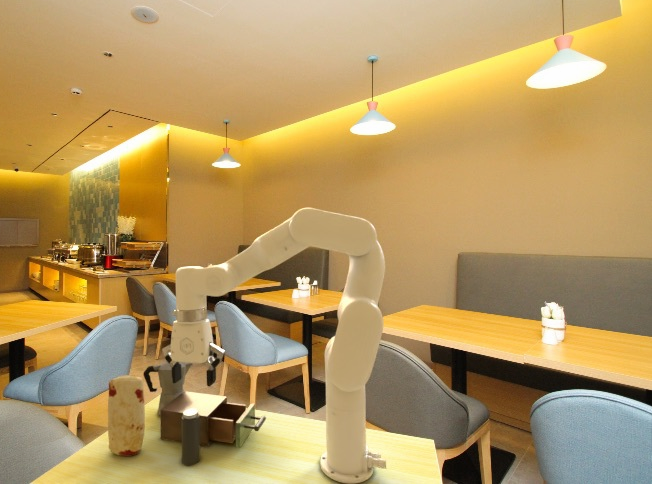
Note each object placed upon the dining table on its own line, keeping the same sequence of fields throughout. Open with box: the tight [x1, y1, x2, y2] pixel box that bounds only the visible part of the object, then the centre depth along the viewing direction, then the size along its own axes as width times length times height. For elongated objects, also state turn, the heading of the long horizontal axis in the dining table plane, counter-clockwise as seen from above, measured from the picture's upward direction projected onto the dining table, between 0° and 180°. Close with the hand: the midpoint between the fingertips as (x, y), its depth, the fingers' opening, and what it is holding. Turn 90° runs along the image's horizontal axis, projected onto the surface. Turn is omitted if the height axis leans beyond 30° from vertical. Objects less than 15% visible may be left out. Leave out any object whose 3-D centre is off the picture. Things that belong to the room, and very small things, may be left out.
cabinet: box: [159, 390, 228, 448], centre depth 103 cm, size 15×13×8 cm
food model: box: [107, 374, 146, 457], centre depth 93 cm, size 10×7×20 cm
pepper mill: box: [181, 409, 201, 466], centre depth 89 cm, size 4×4×12 cm
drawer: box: [209, 401, 267, 448], centre depth 100 cm, size 18×11×6 cm, turn 74°
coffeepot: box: [143, 361, 194, 416], centre depth 115 cm, size 15×9×18 cm, turn 114°
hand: (193, 382), depth 90 cm, fingers open, 9 cm apart
